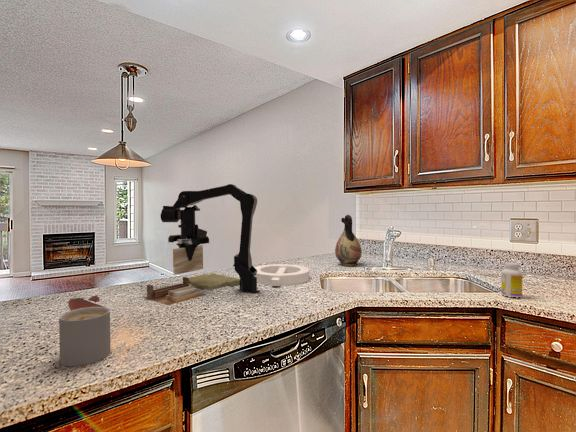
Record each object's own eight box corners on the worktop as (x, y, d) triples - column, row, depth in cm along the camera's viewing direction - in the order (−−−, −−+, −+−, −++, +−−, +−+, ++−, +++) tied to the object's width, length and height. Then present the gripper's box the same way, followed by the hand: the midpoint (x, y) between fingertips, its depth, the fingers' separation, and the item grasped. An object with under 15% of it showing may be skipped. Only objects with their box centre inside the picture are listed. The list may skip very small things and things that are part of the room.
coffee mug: (105, 362, 72) (104, 318, 72) (52, 369, 69) (51, 322, 69) (117, 339, 85) (116, 301, 85) (73, 344, 82) (72, 304, 82)
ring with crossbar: (274, 289, 137) (274, 278, 137) (240, 278, 159) (240, 268, 159) (321, 280, 155) (321, 270, 154) (285, 271, 176) (285, 262, 176)
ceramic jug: (332, 262, 200) (332, 214, 199) (356, 262, 201) (356, 214, 201) (339, 268, 183) (339, 215, 182) (366, 267, 185) (366, 214, 184)
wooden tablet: (67, 302, 119) (67, 298, 119) (99, 298, 125) (99, 293, 125) (73, 323, 98) (73, 317, 98) (110, 316, 104) (110, 311, 104)
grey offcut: (197, 292, 122) (197, 288, 122) (177, 297, 115) (177, 293, 115) (188, 290, 125) (188, 286, 125) (168, 295, 118) (168, 291, 118)
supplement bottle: (525, 297, 125) (526, 263, 124) (516, 299, 121) (517, 265, 121) (506, 293, 130) (507, 261, 130) (497, 295, 127) (498, 262, 127)
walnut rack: (207, 296, 125) (207, 281, 125) (168, 308, 111) (168, 290, 111) (181, 290, 134) (180, 276, 134) (142, 300, 120) (142, 284, 120)
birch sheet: (203, 268, 138) (202, 245, 138) (175, 274, 126) (174, 249, 126) (201, 268, 139) (200, 245, 138) (173, 274, 127) (172, 249, 127)
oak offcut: (199, 296, 122) (199, 292, 122) (176, 302, 114) (176, 298, 114) (188, 293, 126) (188, 289, 126) (166, 299, 117) (166, 295, 117)
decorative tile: (212, 279, 157) (212, 272, 157) (242, 285, 145) (242, 277, 145) (179, 287, 142) (179, 278, 142) (208, 294, 130) (208, 285, 130)
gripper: (218, 221, 133) (219, 259, 134) (188, 221, 144) (189, 256, 144) (197, 223, 124) (198, 263, 125) (167, 222, 135) (167, 259, 135)
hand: (188, 260), depth 132 cm, fingers closed on birch sheet, 1 cm apart
